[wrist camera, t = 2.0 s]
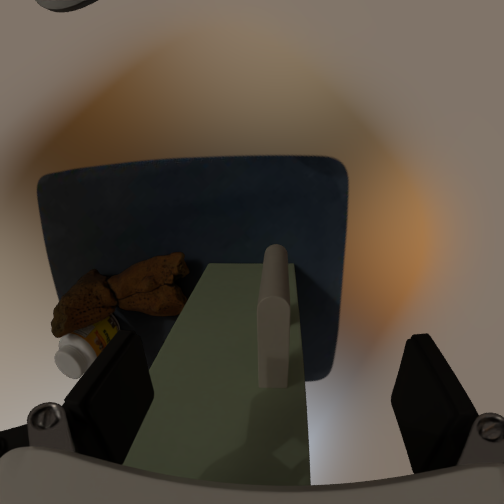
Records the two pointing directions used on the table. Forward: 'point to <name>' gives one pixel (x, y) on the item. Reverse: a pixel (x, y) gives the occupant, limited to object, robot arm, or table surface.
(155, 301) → the sculpture
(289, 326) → the cabinet door
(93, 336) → the supplement bottle
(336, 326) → the table surface
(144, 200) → the table surface
